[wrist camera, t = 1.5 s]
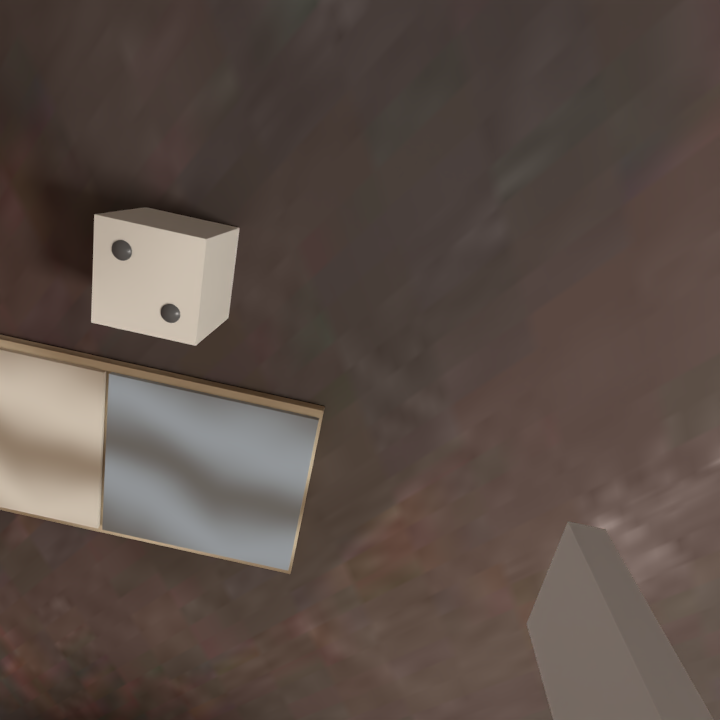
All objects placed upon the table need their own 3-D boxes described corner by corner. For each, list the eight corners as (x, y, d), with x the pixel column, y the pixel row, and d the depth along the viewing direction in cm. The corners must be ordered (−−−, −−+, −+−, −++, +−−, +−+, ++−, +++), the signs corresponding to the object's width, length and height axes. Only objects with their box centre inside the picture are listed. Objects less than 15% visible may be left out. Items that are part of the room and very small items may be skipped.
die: (146, 207, 27) (93, 214, 23) (239, 227, 27) (206, 239, 23) (141, 298, 29) (90, 322, 24) (228, 317, 29) (195, 345, 24)
